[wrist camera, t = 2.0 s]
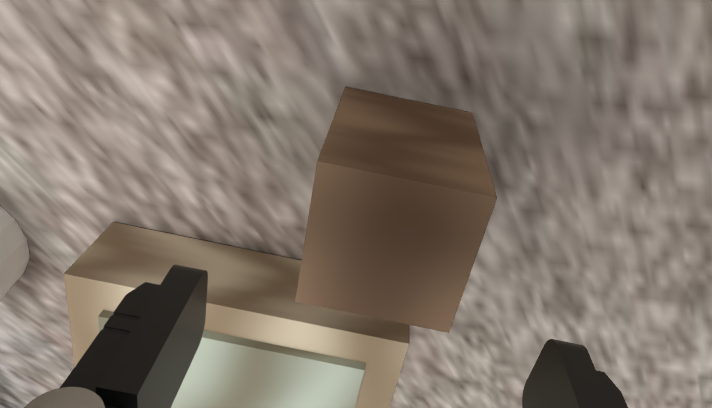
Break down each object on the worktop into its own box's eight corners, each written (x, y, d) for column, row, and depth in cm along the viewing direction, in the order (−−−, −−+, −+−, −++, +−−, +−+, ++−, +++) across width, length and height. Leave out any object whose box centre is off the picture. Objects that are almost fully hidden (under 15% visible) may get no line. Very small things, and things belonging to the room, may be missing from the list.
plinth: (409, 282, 25) (409, 351, 21) (356, 467, 32) (348, 543, 28) (113, 221, 25) (58, 279, 21) (124, 420, 32) (84, 491, 28)
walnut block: (472, 112, 21) (497, 198, 15) (439, 220, 23) (449, 332, 17) (345, 86, 21) (317, 161, 15) (326, 197, 23) (294, 301, 17)
